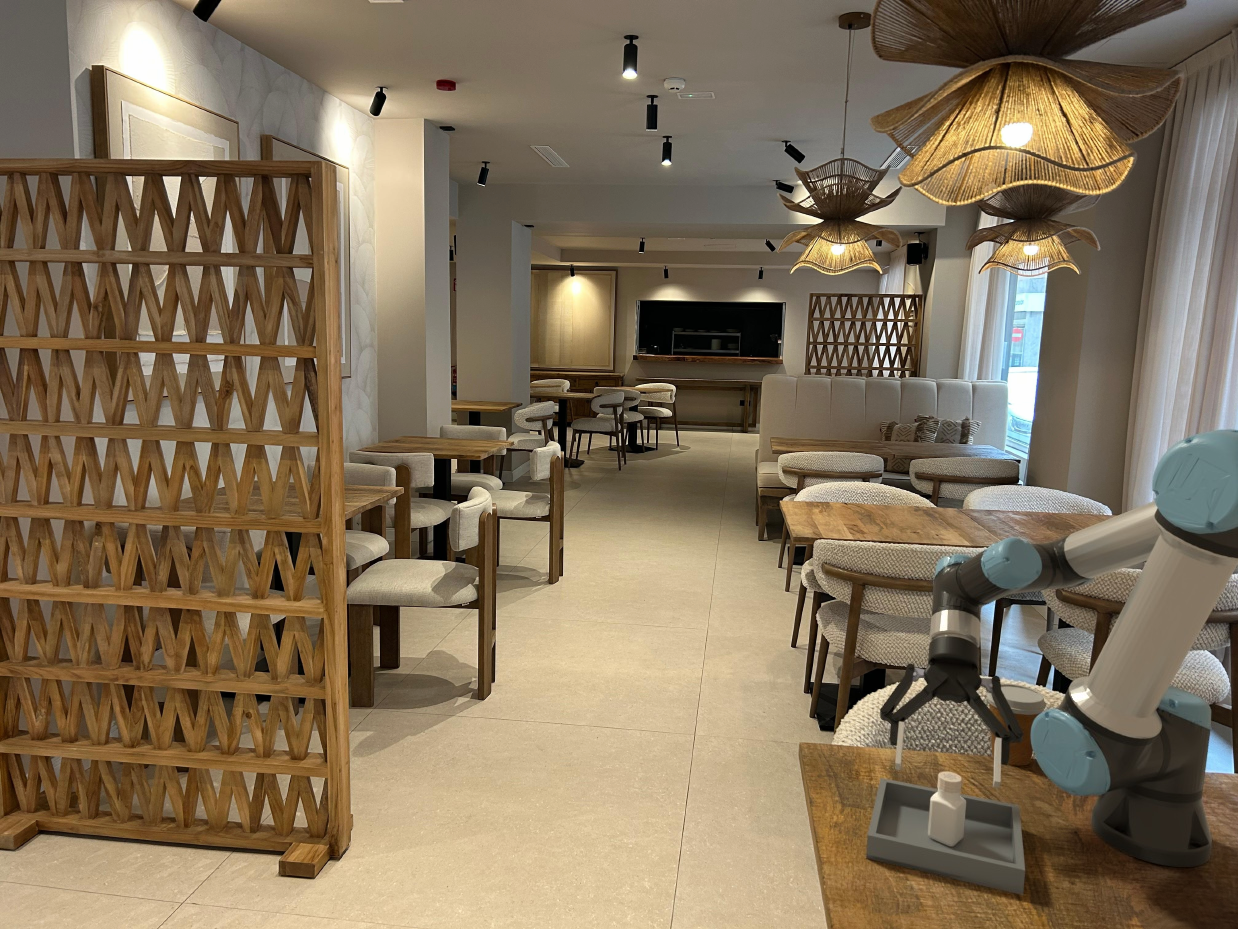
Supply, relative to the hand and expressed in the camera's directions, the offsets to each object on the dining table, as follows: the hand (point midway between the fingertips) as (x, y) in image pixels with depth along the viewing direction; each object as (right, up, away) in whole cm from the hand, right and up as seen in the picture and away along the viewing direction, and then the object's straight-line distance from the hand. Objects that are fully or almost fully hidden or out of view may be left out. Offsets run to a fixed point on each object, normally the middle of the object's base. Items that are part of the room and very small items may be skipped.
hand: (946, 775), depth 126 cm
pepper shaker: (-1, -9, -1) cm, 9 cm away
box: (-1, -9, -1) cm, 9 cm away
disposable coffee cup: (+21, -7, +26) cm, 35 cm away
